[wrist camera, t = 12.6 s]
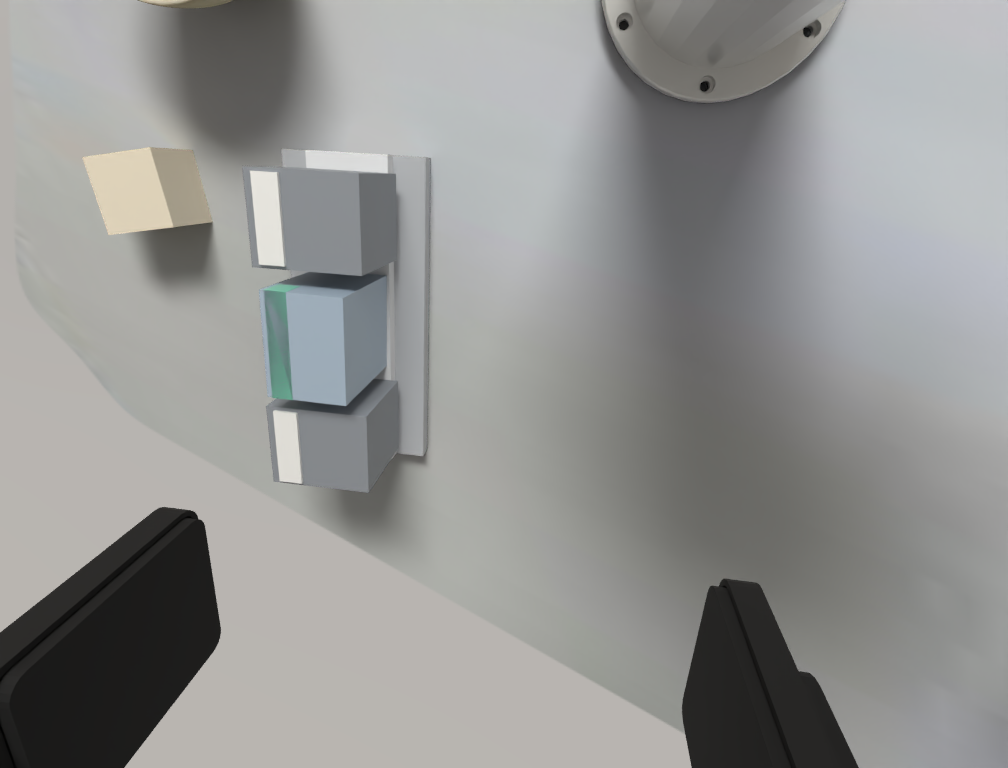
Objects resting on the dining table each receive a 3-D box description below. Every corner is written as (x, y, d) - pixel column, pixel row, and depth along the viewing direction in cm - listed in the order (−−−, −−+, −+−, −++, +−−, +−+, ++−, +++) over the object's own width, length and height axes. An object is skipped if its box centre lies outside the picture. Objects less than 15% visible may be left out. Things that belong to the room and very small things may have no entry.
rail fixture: (290, 149, 35) (208, 142, 28) (430, 157, 34) (387, 152, 27) (310, 435, 42) (250, 494, 35) (427, 448, 42) (392, 511, 34)
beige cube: (132, 159, 37) (82, 157, 33) (193, 150, 36) (149, 147, 33) (154, 229, 38) (108, 234, 35) (213, 222, 38) (173, 227, 34)
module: (317, 268, 36) (258, 289, 29) (386, 275, 35) (342, 297, 29) (321, 358, 38) (267, 397, 31) (386, 366, 37) (346, 406, 31)
